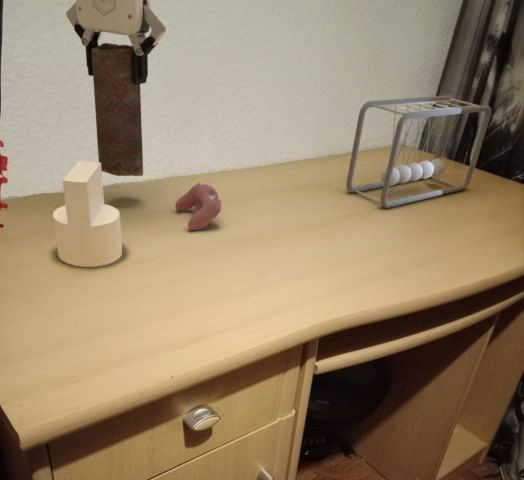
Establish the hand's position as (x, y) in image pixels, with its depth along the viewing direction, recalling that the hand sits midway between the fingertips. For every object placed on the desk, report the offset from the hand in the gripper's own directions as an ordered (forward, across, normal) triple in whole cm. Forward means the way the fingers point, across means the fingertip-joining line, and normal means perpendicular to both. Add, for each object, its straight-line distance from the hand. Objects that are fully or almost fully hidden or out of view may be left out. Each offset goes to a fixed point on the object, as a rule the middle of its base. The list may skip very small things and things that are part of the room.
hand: (117, 78), depth 85 cm
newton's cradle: (+19, +46, +39) cm, 64 cm away
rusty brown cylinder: (+15, 0, 0) cm, 15 cm away
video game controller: (+20, +15, 0) cm, 25 cm away
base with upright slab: (+20, +7, -20) cm, 29 cm away
